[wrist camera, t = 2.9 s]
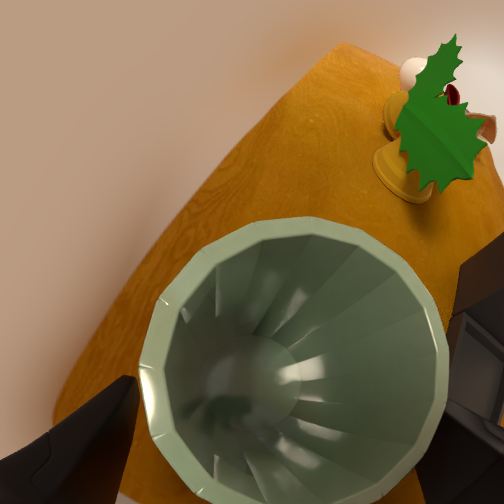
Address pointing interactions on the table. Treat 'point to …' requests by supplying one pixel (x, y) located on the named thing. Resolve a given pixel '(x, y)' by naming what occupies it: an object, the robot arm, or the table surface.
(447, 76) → the ornament
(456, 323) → the coffee maker
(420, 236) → the table surface
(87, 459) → the robot arm
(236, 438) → the cup
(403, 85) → the lightbulb
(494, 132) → the oil lamp
